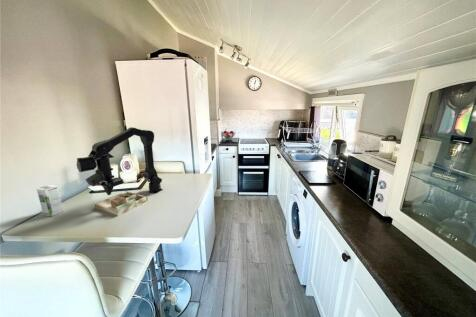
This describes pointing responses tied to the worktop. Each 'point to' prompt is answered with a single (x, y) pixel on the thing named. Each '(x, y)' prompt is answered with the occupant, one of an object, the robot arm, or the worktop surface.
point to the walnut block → (117, 202)
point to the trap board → (131, 202)
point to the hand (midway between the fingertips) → (109, 194)
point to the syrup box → (50, 200)
